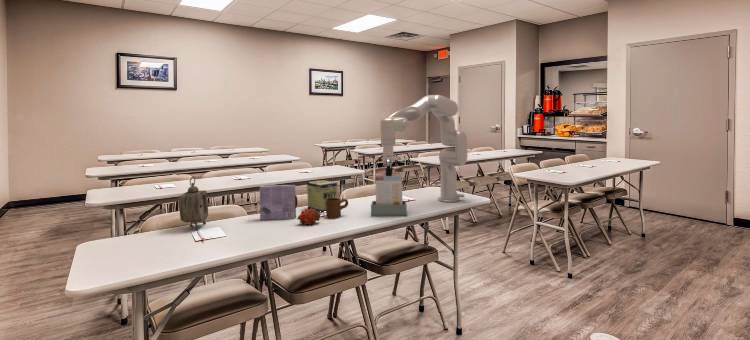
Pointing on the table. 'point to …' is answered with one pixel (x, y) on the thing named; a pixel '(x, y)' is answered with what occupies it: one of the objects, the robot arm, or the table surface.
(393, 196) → the cracker box
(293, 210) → the cake pan box
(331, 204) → the mug
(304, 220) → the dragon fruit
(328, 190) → the protein box
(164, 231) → the table surface
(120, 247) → the table surface
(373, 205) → the tray
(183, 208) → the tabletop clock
